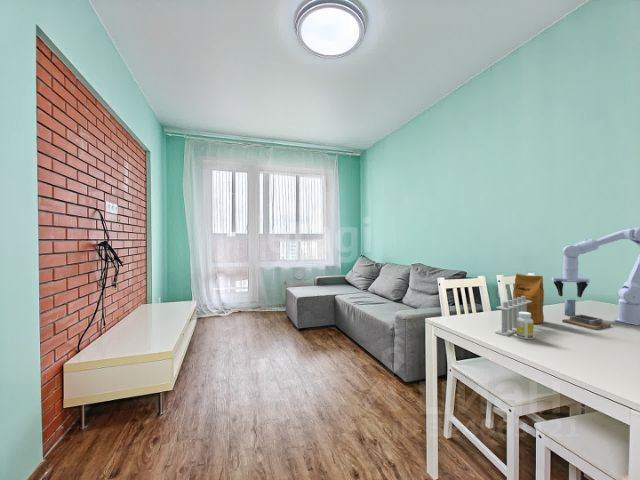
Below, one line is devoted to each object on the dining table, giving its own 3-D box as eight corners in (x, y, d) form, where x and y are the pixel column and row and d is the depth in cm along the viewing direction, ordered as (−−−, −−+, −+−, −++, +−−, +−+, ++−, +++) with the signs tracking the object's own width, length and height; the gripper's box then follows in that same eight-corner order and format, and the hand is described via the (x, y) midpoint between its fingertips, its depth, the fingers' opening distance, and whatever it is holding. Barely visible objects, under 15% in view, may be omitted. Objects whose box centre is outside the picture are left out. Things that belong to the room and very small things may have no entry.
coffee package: (516, 315, 142) (517, 272, 141) (547, 321, 131) (547, 274, 131) (508, 318, 136) (508, 273, 136) (538, 325, 126) (539, 276, 125)
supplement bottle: (532, 336, 113) (532, 312, 113) (534, 340, 108) (534, 315, 108) (515, 333, 115) (516, 310, 115) (517, 338, 111) (517, 313, 111)
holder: (577, 318, 135) (577, 312, 135) (610, 326, 124) (610, 319, 124) (562, 321, 131) (562, 315, 130) (595, 330, 119) (595, 323, 119)
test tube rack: (507, 336, 113) (507, 304, 112) (495, 333, 116) (495, 302, 116) (532, 325, 127) (532, 296, 126) (521, 322, 130) (521, 294, 130)
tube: (567, 313, 144) (567, 298, 144) (577, 315, 140) (577, 300, 140) (562, 314, 142) (563, 299, 142) (572, 316, 138) (572, 300, 138)
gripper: (584, 269, 142) (583, 295, 142) (549, 268, 147) (548, 293, 147) (592, 270, 135) (591, 298, 136) (555, 269, 140) (555, 296, 140)
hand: (569, 296), depth 141 cm, fingers open, 7 cm apart
